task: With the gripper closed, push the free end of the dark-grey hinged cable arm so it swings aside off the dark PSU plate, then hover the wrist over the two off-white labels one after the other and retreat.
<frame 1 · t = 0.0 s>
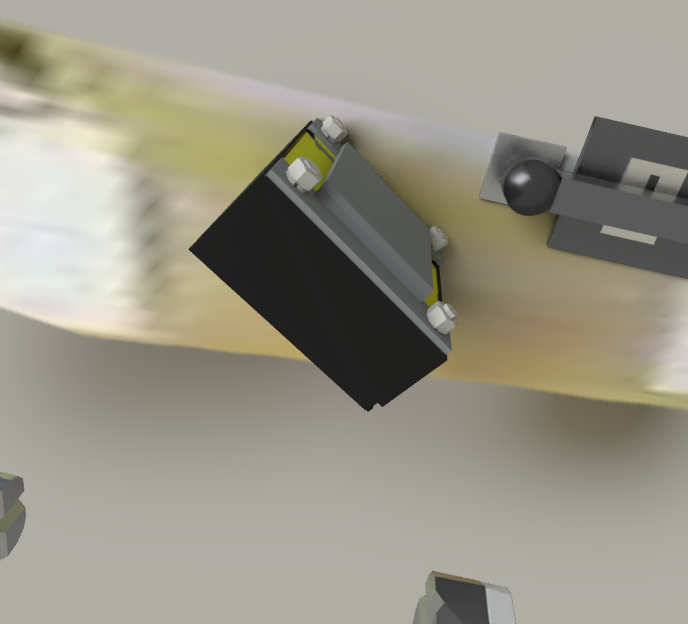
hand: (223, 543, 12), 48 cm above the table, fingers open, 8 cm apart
psu plate: (687, 210, 55), on the table
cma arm: (648, 212, 51), point 5 cm above the table, hinge at 0.0°
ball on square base: (521, 172, 55), on the table
electrical component: (355, 209, 59), on the table
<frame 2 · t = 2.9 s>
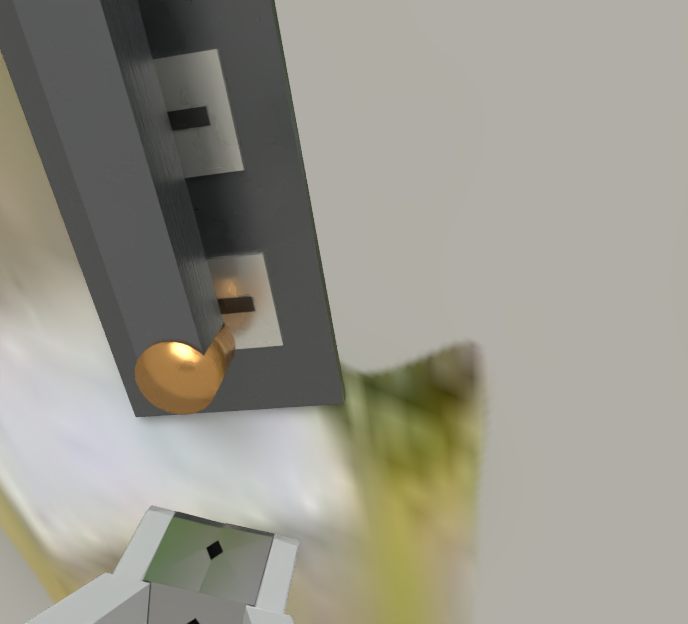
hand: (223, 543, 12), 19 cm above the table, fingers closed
psu plate: (189, 214, 29), on the table
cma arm: (113, 120, 23), point 5 cm above the table, hinge at 0.0°
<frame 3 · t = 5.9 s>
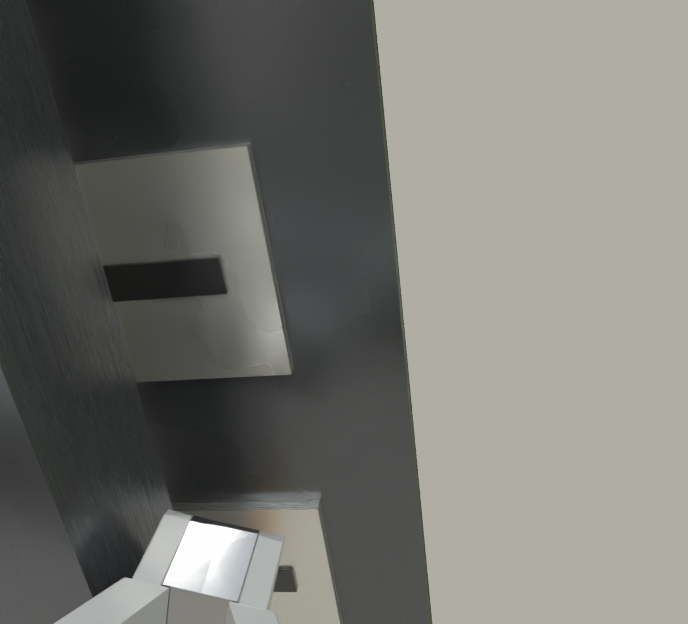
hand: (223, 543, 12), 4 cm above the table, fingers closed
psu plate: (181, 422, 16), on the table
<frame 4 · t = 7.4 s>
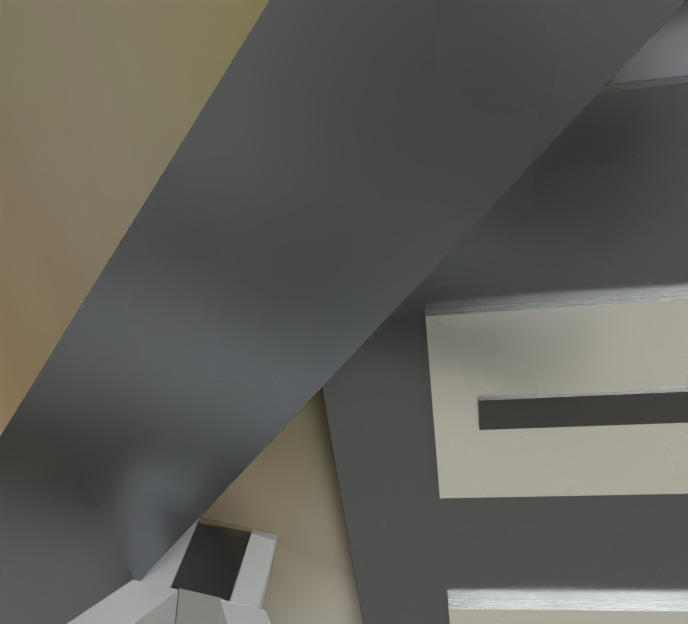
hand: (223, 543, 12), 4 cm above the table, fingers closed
psu plate: (576, 522, 16), on the table
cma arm: (181, 366, 10), point 5 cm above the table, hinge at 44.9°, touching gripper
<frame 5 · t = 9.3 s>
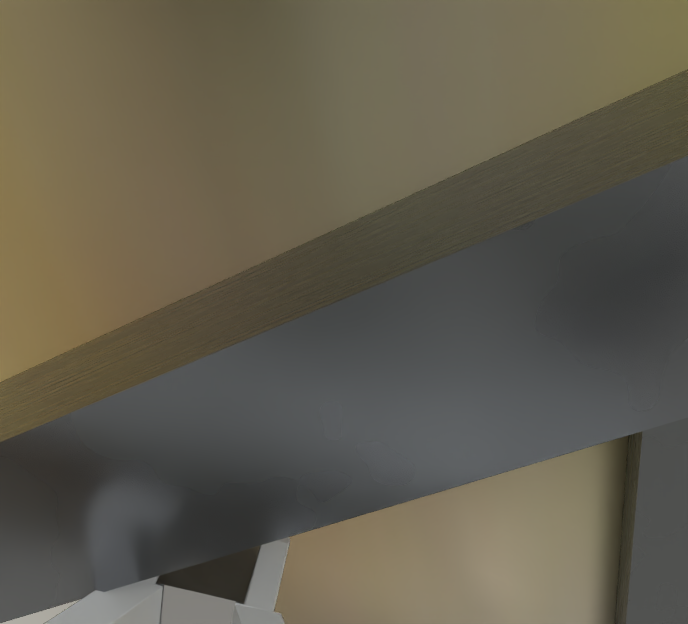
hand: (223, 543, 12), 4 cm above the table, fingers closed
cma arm: (470, 317, 8), point 5 cm above the table, hinge at 71.4°, touching gripper
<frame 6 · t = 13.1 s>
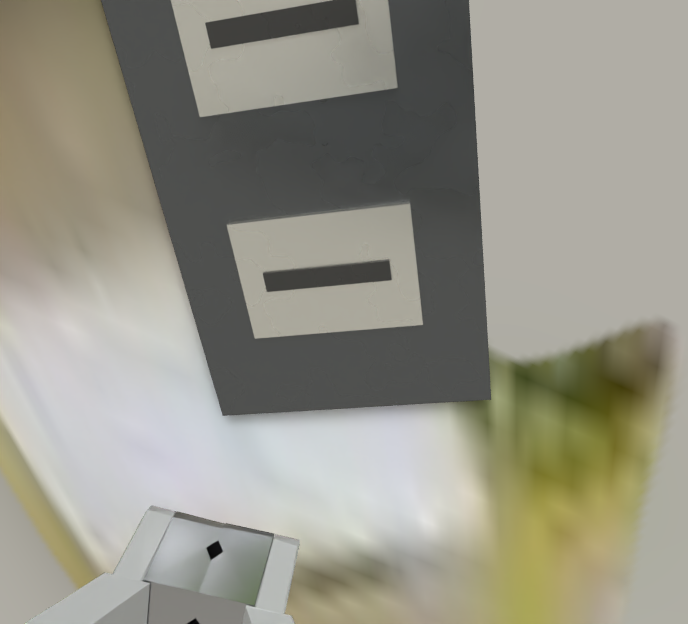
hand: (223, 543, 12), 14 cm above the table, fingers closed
psu plate: (311, 154, 23), on the table
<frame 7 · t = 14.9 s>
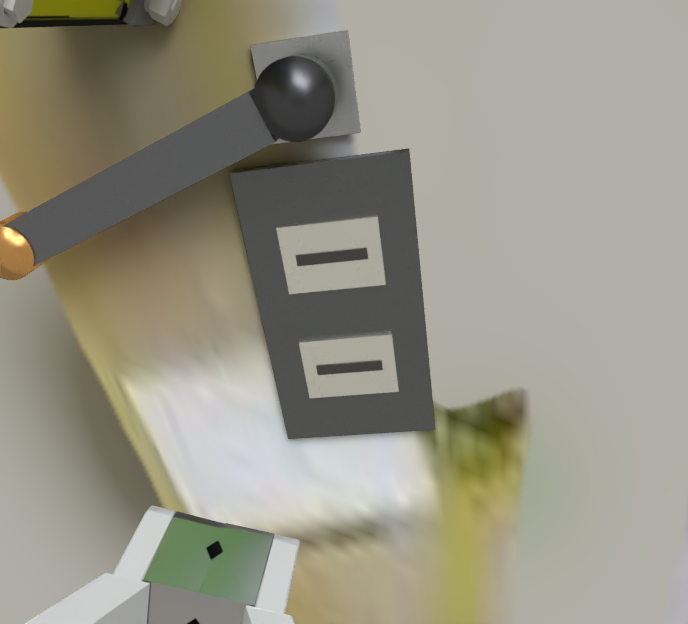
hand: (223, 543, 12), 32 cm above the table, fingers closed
psu plate: (342, 308, 45), on the table
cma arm: (150, 175, 37), point 5 cm above the table, hinge at 71.6°
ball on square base: (307, 89, 38), on the table
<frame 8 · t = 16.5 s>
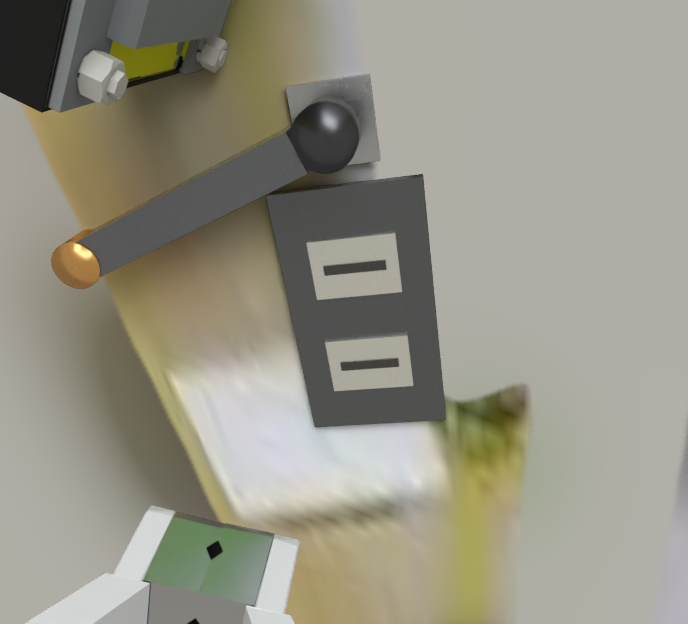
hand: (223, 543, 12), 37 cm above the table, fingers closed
psu plate: (363, 311, 51), on the table
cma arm: (199, 200, 43), point 5 cm above the table, hinge at 71.6°
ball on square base: (334, 123, 44), on the table
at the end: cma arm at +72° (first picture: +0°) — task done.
